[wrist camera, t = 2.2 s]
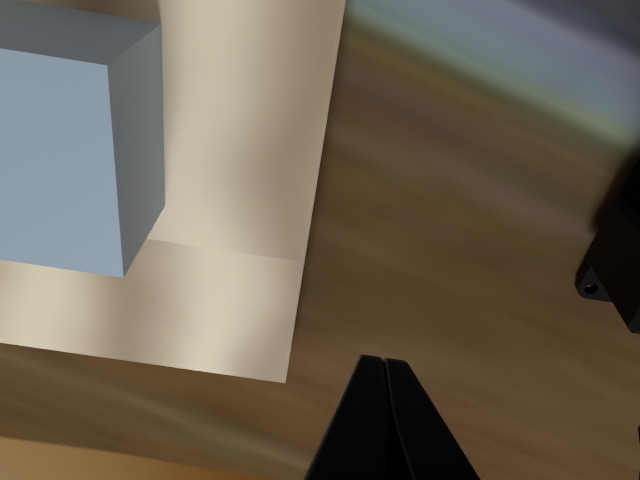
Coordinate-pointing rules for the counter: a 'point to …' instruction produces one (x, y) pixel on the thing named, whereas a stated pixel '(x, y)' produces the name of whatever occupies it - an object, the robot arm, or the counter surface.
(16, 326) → the trap board
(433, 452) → the robot arm
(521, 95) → the counter surface
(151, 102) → the block
